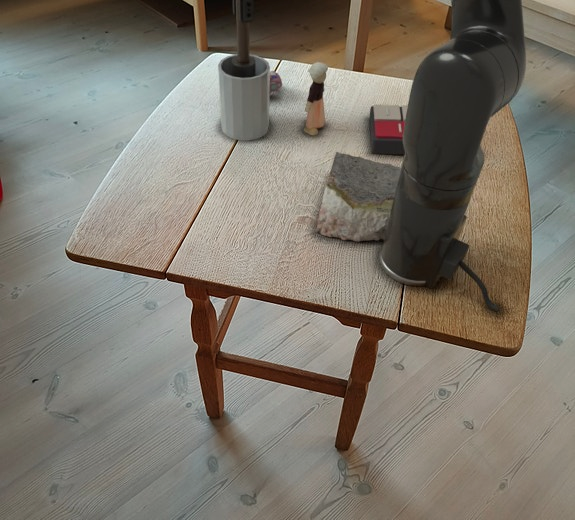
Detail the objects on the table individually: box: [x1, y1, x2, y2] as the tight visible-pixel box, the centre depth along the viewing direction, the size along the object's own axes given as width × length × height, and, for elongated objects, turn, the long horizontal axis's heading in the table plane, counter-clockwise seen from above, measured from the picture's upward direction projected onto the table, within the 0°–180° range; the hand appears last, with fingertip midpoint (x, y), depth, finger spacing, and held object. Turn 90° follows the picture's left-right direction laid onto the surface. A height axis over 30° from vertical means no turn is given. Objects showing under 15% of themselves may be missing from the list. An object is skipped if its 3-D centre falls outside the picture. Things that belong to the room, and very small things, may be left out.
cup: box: [217, 53, 271, 142], centre depth 96 cm, size 9×9×12 cm
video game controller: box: [269, 70, 283, 96], centre depth 106 cm, size 10×5×7 cm, turn 104°
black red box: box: [368, 104, 408, 155], centre depth 99 cm, size 11×4×15 cm
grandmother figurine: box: [303, 61, 329, 136], centre depth 97 cm, size 8×4×13 cm, turn 168°
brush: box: [232, 0, 256, 78], centre depth 89 cm, size 4×4×17 cm
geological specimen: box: [315, 151, 401, 242], centre depth 85 cm, size 11×6×15 cm
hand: (243, 17), depth 86 cm, fingers closed on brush, 2 cm apart
